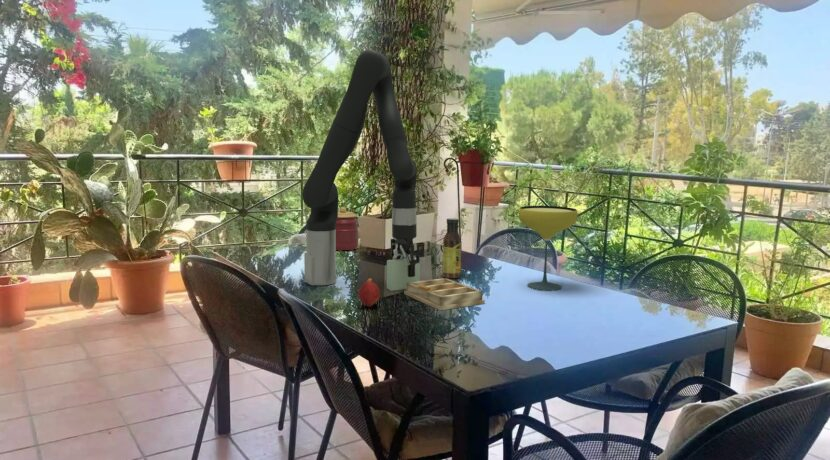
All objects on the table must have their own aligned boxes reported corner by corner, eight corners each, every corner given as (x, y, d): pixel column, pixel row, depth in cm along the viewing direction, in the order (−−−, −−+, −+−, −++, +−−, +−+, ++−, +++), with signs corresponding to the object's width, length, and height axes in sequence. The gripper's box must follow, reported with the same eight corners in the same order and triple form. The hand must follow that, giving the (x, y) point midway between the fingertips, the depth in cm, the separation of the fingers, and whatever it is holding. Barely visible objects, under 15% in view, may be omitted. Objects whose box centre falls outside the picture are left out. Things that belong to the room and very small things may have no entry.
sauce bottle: (459, 279, 204) (460, 220, 202) (440, 278, 206) (441, 219, 203) (461, 275, 211) (463, 217, 208) (443, 274, 212) (445, 217, 209)
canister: (323, 250, 254) (323, 208, 251) (332, 245, 267) (332, 204, 264) (354, 252, 252) (354, 209, 249) (362, 246, 265) (362, 205, 262)
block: (391, 290, 188) (391, 262, 187) (386, 288, 191) (386, 260, 190) (419, 287, 193) (419, 259, 192) (414, 285, 196) (414, 257, 195)
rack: (439, 310, 167) (440, 294, 167) (404, 294, 184) (404, 280, 184) (484, 303, 175) (485, 288, 174) (446, 288, 192) (446, 275, 191)
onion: (363, 310, 166) (363, 281, 165) (355, 305, 171) (355, 277, 170) (383, 308, 169) (383, 279, 168) (374, 303, 174) (374, 275, 173)
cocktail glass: (584, 286, 197) (588, 209, 193) (554, 296, 184) (558, 213, 180) (535, 277, 209) (538, 204, 205) (504, 286, 196) (507, 208, 192)
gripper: (382, 220, 193) (383, 271, 196) (404, 225, 181) (405, 279, 183) (403, 219, 197) (404, 268, 199) (426, 224, 185) (426, 277, 187)
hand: (404, 274), depth 191 cm, fingers open, 8 cm apart
